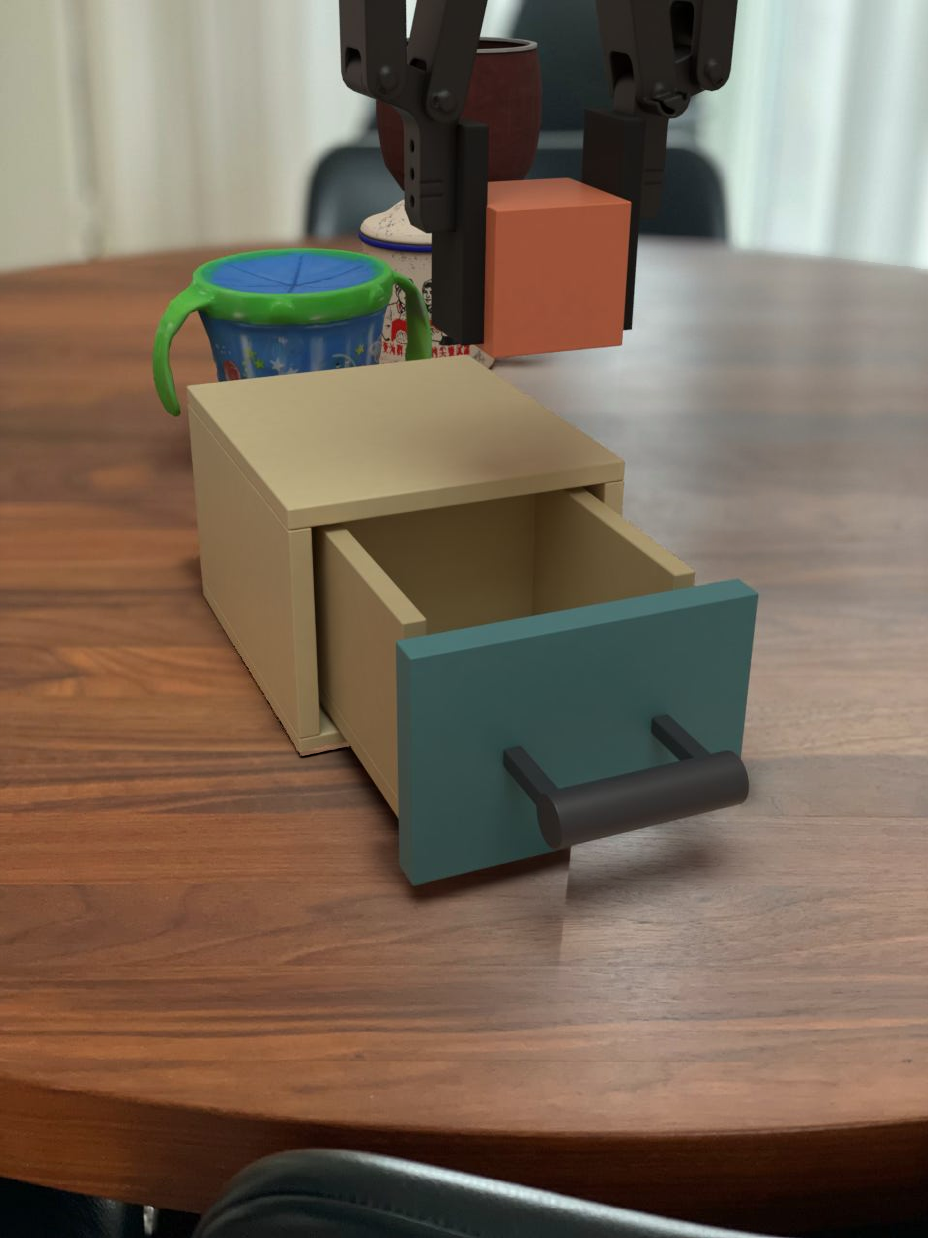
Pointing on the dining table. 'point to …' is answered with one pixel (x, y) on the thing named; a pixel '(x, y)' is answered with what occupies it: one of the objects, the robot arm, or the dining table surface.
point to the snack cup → (290, 315)
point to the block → (554, 267)
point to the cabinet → (353, 488)
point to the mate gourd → (487, 110)
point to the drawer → (529, 676)
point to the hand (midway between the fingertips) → (531, 325)
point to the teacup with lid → (412, 259)
